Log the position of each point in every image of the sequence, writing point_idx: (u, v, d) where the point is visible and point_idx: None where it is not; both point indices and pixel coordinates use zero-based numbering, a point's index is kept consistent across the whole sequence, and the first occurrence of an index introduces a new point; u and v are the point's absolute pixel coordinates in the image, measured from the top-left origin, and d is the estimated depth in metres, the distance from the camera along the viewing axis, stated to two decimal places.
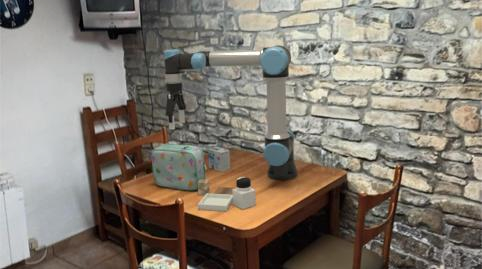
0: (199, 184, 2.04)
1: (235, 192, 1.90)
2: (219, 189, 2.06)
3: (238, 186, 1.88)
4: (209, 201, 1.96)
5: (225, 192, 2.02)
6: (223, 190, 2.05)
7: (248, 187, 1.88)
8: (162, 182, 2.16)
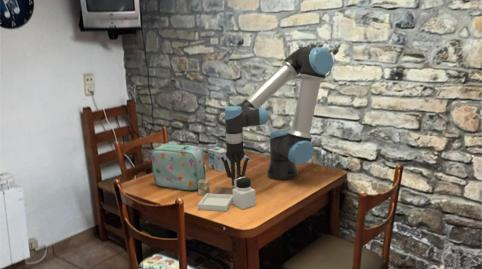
0: (199, 184, 2.04)
1: (235, 192, 1.90)
2: (216, 188, 2.07)
3: (238, 186, 1.88)
4: (209, 201, 1.96)
5: (223, 192, 2.02)
6: (221, 189, 2.05)
7: (248, 187, 1.88)
8: (162, 182, 2.16)
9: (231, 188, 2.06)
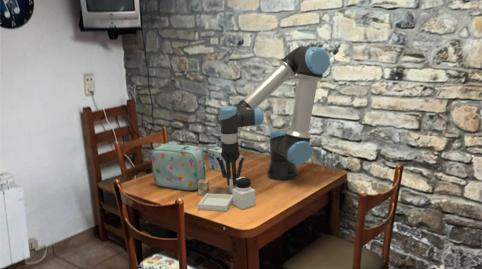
0: (199, 184, 2.04)
1: (235, 192, 1.90)
2: (212, 188, 2.07)
3: (238, 186, 1.88)
4: (209, 201, 1.96)
5: (218, 192, 2.03)
6: (217, 189, 2.06)
7: (248, 187, 1.88)
8: (162, 182, 2.16)
9: (226, 188, 2.07)
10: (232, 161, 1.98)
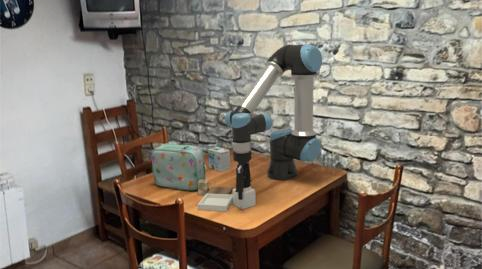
0: (199, 184, 2.04)
1: (235, 192, 1.90)
2: (212, 188, 2.07)
3: None
4: (209, 201, 1.96)
5: (219, 192, 2.03)
6: (217, 189, 2.06)
7: (248, 187, 1.88)
8: (162, 182, 2.16)
9: (226, 188, 2.07)
10: (248, 168, 1.90)
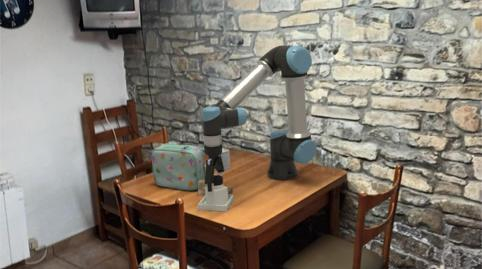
0: (199, 184, 2.04)
1: None
2: None
3: None
4: None
5: None
6: None
7: (220, 185, 1.90)
8: (162, 182, 2.16)
9: None
10: (219, 161, 1.91)
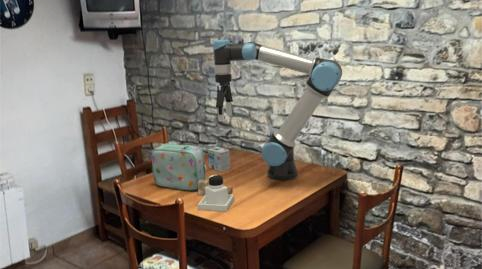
0: (199, 184, 2.04)
1: (208, 190, 1.91)
2: None
3: (210, 184, 1.90)
4: None
5: None
6: None
7: (220, 185, 1.90)
8: (162, 182, 2.16)
9: None
10: (228, 89, 2.13)
